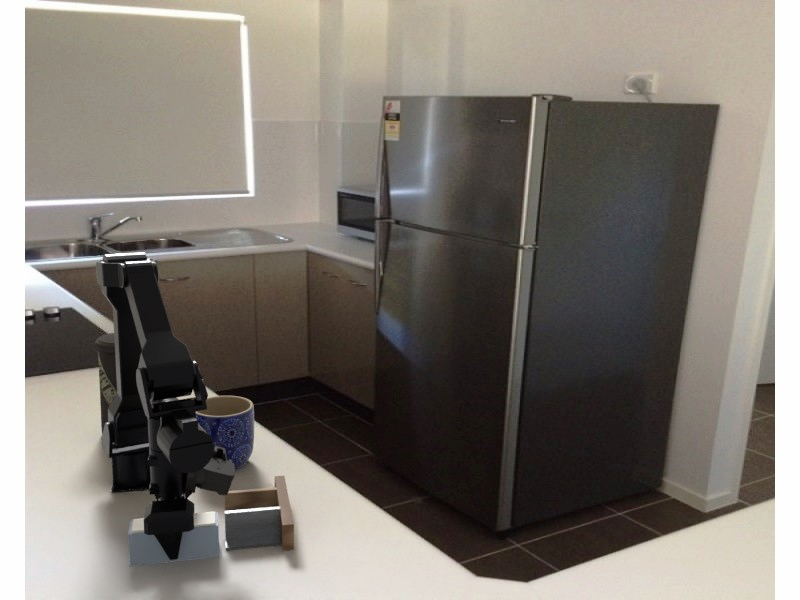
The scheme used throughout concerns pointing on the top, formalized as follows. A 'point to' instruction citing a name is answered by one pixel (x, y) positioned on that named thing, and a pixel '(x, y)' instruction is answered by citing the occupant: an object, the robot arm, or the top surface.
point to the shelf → (267, 499)
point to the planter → (230, 426)
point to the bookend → (252, 528)
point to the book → (192, 543)
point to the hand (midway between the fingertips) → (175, 546)
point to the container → (106, 373)
